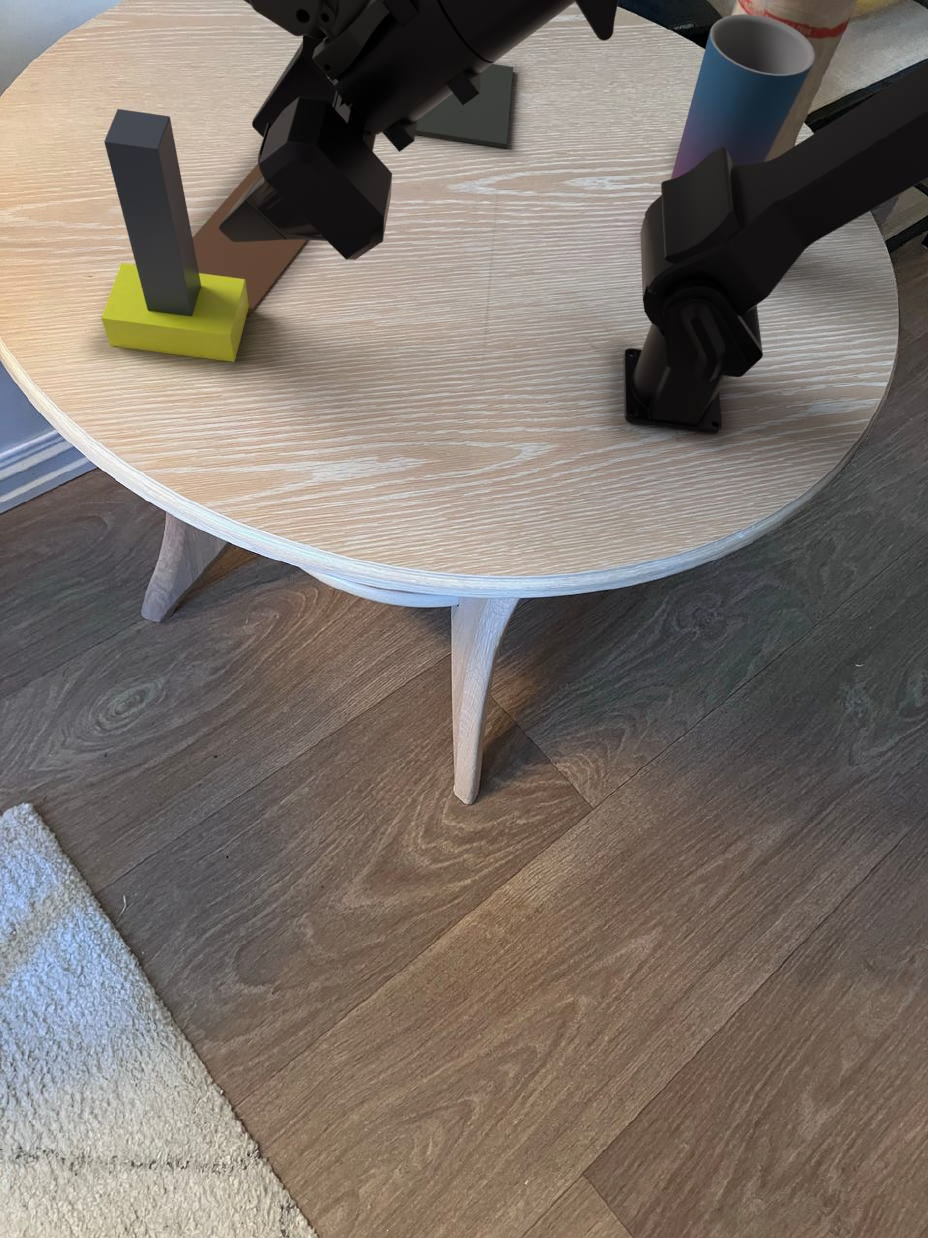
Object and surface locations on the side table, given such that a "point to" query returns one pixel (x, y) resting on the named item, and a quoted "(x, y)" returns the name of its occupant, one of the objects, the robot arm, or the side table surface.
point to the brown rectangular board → (242, 251)
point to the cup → (743, 90)
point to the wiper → (164, 254)
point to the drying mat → (474, 112)
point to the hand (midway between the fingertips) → (242, 179)
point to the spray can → (821, 15)
